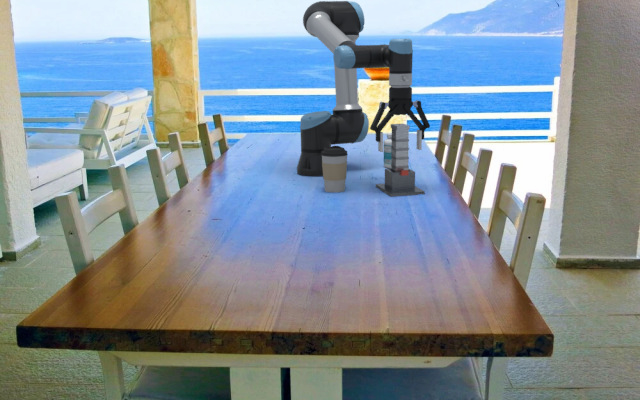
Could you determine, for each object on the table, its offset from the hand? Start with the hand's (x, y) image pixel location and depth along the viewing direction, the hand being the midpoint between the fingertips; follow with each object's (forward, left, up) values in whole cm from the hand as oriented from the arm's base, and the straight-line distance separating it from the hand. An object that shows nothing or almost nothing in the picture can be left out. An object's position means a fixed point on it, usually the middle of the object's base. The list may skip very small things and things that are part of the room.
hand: (399, 150), depth 231 cm
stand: (0, 0, -14) cm, 14 cm away
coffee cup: (-21, +7, -14) cm, 26 cm away
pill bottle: (+12, +42, -14) cm, 46 cm away
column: (0, 0, -13) cm, 13 cm away
